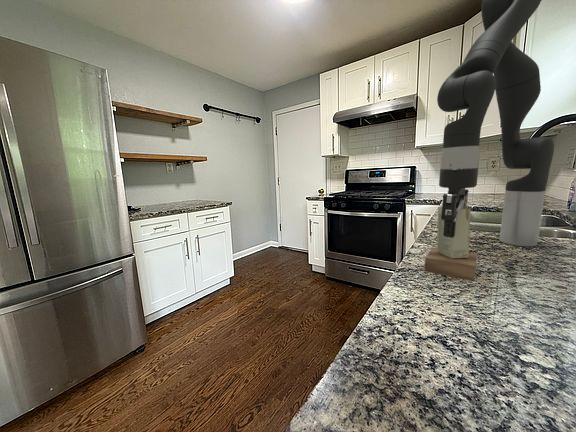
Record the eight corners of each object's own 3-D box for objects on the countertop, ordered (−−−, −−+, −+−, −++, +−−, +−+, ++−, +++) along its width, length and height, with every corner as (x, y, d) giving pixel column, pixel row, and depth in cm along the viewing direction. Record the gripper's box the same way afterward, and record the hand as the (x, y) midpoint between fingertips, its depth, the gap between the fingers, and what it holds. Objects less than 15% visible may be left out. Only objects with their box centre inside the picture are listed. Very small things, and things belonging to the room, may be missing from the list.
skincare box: (469, 258, 60) (472, 208, 58) (451, 259, 60) (454, 209, 58) (451, 249, 66) (454, 204, 64) (435, 250, 66) (437, 205, 64)
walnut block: (431, 261, 70) (432, 247, 69) (475, 268, 64) (477, 253, 63) (424, 273, 63) (425, 257, 62) (473, 282, 56) (475, 266, 56)
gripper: (448, 167, 66) (443, 225, 69) (432, 168, 56) (427, 237, 59) (483, 165, 61) (476, 229, 64) (472, 167, 51) (465, 242, 54)
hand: (453, 233), depth 62 cm, fingers open, 8 cm apart
